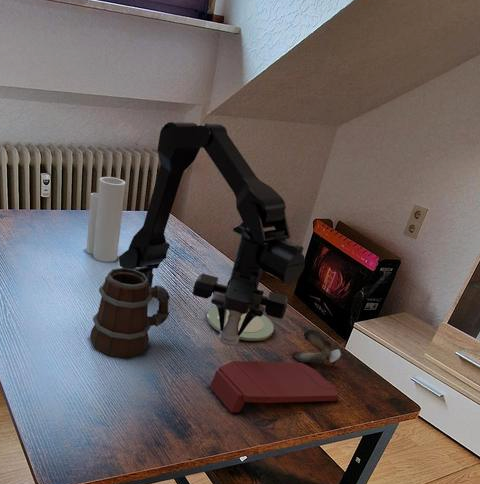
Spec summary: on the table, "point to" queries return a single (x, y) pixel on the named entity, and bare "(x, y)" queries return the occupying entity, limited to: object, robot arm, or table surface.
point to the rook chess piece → (231, 329)
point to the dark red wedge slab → (269, 383)
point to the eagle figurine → (321, 344)
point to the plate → (254, 330)
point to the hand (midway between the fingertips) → (230, 332)
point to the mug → (126, 313)
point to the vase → (105, 219)
